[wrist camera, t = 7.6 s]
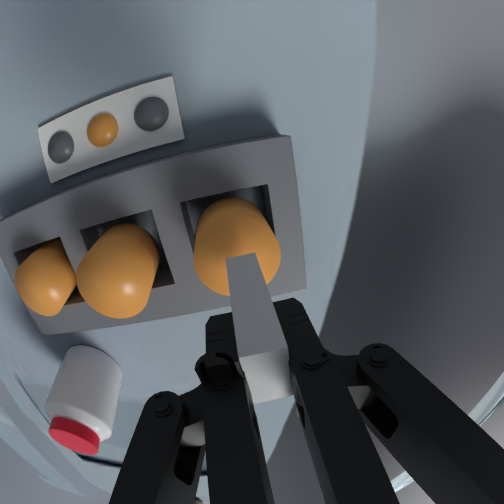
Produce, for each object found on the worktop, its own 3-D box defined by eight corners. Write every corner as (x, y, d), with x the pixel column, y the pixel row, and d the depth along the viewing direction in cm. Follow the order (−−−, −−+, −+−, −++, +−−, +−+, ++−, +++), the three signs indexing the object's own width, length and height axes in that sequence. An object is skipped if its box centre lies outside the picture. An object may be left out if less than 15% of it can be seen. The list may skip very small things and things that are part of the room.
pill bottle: (116, 393, 30) (104, 464, 20) (63, 370, 27) (40, 438, 17) (129, 362, 27) (114, 445, 18) (68, 334, 25) (36, 412, 15)
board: (53, 317, 24) (43, 335, 21) (6, 215, 18) (-11, 227, 16) (296, 270, 25) (306, 288, 22) (279, 134, 20) (290, 136, 17)
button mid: (112, 287, 20) (95, 323, 16) (89, 232, 18) (64, 259, 14) (167, 276, 21) (160, 312, 17) (148, 215, 18) (132, 241, 14)
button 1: (205, 268, 21) (205, 303, 17) (189, 205, 19) (183, 229, 15) (270, 254, 21) (285, 286, 17) (260, 190, 19) (274, 209, 15)
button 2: (52, 291, 22) (32, 319, 18) (31, 245, 19) (6, 268, 15) (90, 282, 22) (72, 312, 18) (69, 232, 20) (45, 256, 16)
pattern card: (52, 182, 18) (49, 184, 18) (40, 128, 16) (36, 128, 15) (185, 138, 19) (184, 139, 18) (173, 76, 17) (172, 75, 16)
